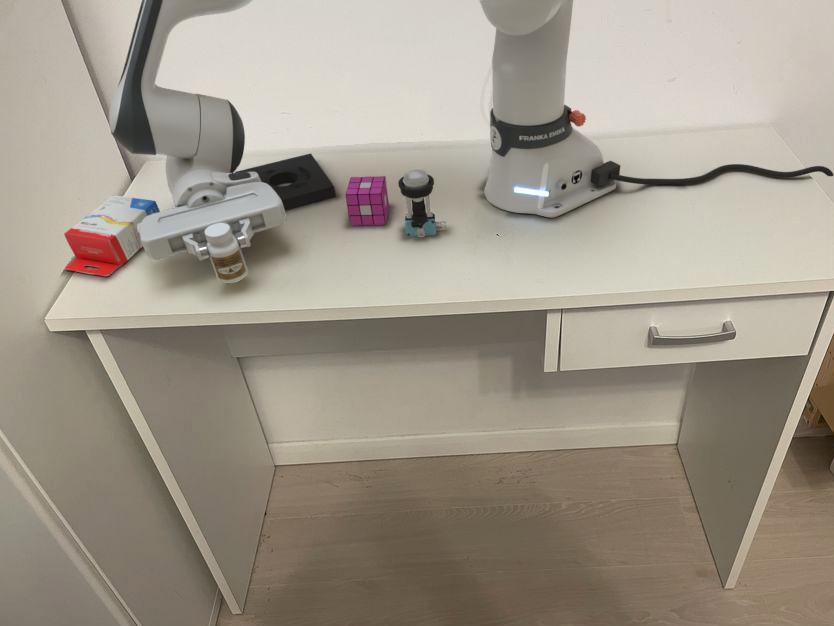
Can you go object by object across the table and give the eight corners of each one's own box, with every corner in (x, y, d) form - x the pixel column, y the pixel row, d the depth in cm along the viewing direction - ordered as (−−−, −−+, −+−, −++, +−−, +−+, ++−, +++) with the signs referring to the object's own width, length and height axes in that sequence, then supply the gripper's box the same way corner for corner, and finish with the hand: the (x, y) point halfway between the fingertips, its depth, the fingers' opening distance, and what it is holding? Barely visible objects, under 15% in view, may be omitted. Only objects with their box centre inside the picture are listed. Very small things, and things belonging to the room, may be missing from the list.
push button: (446, 222, 110) (441, 165, 104) (447, 240, 106) (442, 182, 100) (404, 224, 110) (397, 168, 104) (404, 243, 106) (397, 185, 100)
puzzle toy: (350, 226, 111) (345, 194, 107) (355, 207, 115) (350, 176, 111) (385, 225, 110) (381, 193, 107) (389, 206, 115) (385, 175, 111)
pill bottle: (221, 287, 97) (204, 241, 92) (214, 272, 100) (197, 226, 94) (251, 278, 98) (236, 232, 93) (244, 262, 101) (229, 217, 96)
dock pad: (313, 163, 127) (310, 153, 126) (336, 196, 118) (334, 186, 117) (237, 181, 123) (234, 171, 122) (255, 218, 114) (252, 207, 112)
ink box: (156, 199, 110) (96, 251, 99) (167, 226, 113) (110, 278, 103) (111, 194, 112) (48, 244, 101) (123, 220, 115) (63, 271, 105)
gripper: (127, 203, 99) (138, 251, 90) (266, 168, 105) (290, 209, 96) (143, 240, 103) (155, 289, 94) (276, 204, 109) (299, 247, 100)
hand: (224, 249), depth 95 cm, fingers closed on pill bottle, 4 cm apart
